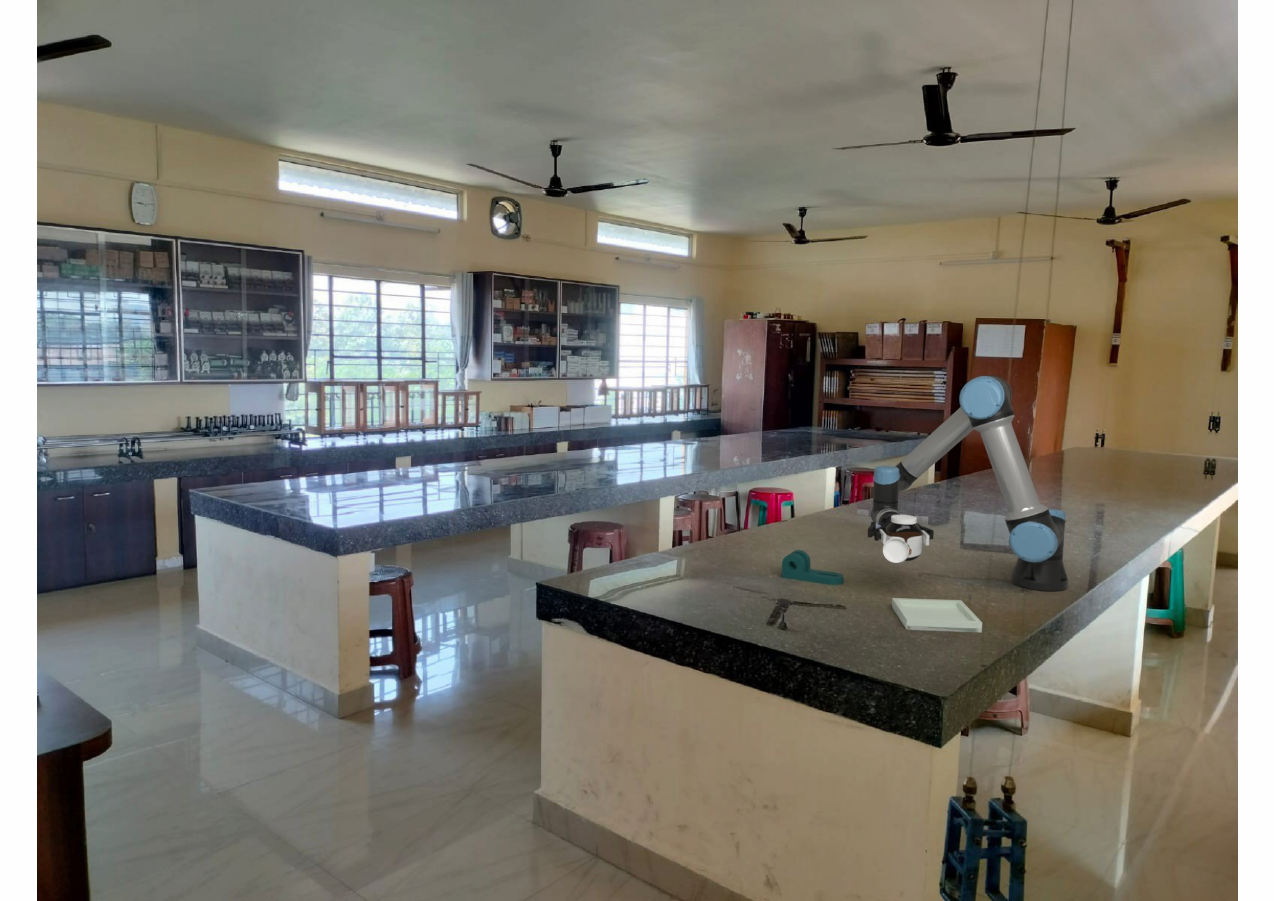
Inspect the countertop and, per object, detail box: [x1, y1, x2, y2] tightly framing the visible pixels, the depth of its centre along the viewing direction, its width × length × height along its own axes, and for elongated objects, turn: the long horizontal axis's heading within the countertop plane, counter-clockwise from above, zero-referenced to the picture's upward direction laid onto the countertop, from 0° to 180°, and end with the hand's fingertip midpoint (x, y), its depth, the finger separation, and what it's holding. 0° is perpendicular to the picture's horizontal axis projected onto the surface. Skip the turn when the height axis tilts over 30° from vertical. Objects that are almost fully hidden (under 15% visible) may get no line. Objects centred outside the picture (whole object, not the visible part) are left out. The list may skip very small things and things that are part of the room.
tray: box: [891, 597, 983, 633], centre depth 205 cm, size 18×18×2 cm
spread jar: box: [882, 514, 924, 564], centre depth 220 cm, size 12×11×12 cm
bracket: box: [781, 549, 845, 586], centre depth 242 cm, size 18×7×8 cm, turn 60°
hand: (906, 540), depth 216 cm, fingers closed on spread jar, 11 cm apart
